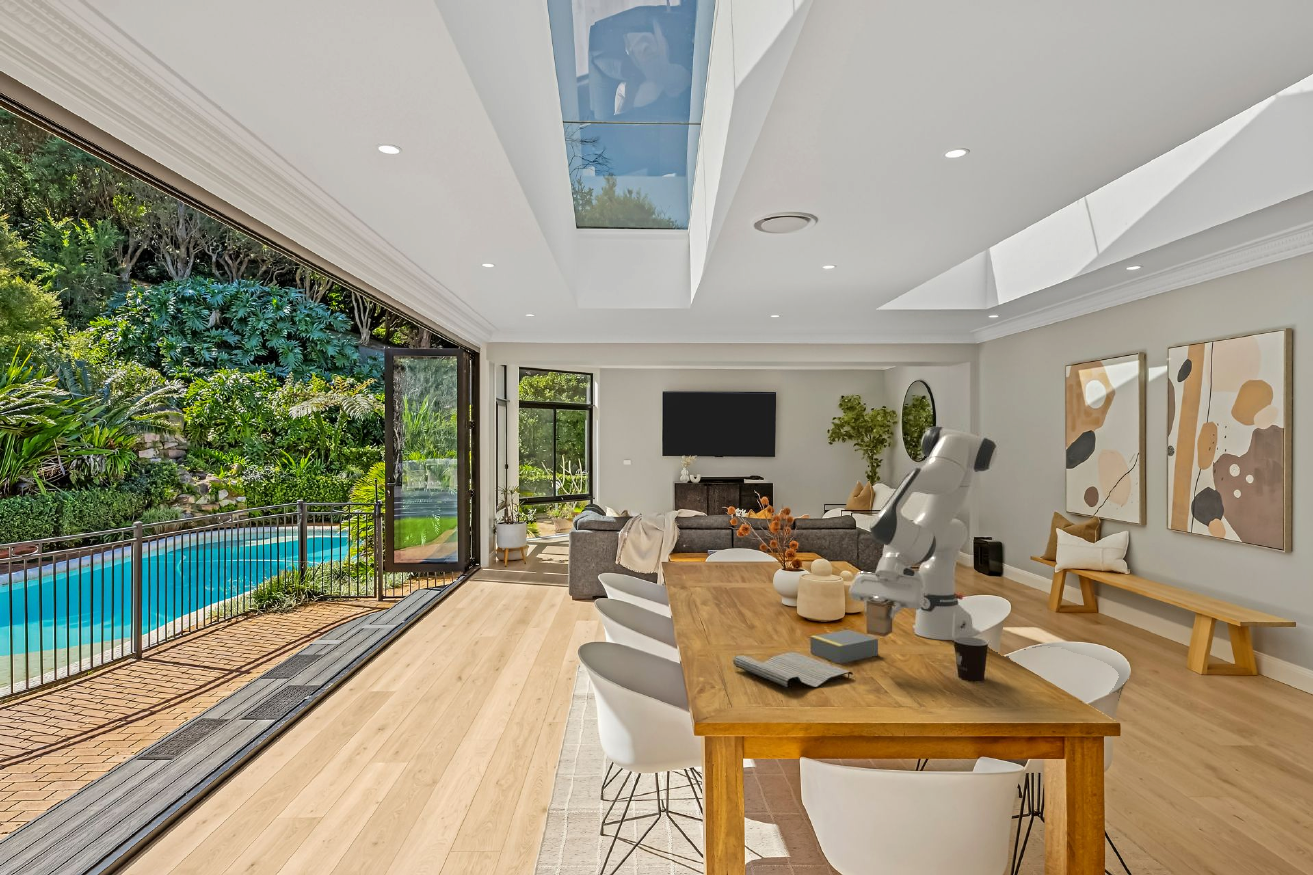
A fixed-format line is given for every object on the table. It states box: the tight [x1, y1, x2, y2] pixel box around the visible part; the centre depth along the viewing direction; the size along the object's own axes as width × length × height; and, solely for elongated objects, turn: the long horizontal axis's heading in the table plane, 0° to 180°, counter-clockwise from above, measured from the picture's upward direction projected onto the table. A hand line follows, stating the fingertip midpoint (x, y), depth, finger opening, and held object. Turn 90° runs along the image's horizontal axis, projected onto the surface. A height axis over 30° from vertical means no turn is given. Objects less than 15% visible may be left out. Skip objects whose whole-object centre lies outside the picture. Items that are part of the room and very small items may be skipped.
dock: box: [810, 629, 879, 665], centre depth 205 cm, size 16×12×5 cm
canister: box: [873, 596, 885, 603], centre depth 189 cm, size 3×3×2 cm
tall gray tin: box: [866, 598, 893, 638], centre depth 188 cm, size 6×5×9 cm
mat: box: [732, 651, 854, 693], centre depth 187 cm, size 23×24×5 cm
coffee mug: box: [952, 636, 989, 683], centre depth 185 cm, size 12×9×10 cm
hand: (878, 615), depth 188 cm, fingers closed on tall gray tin, 5 cm apart
